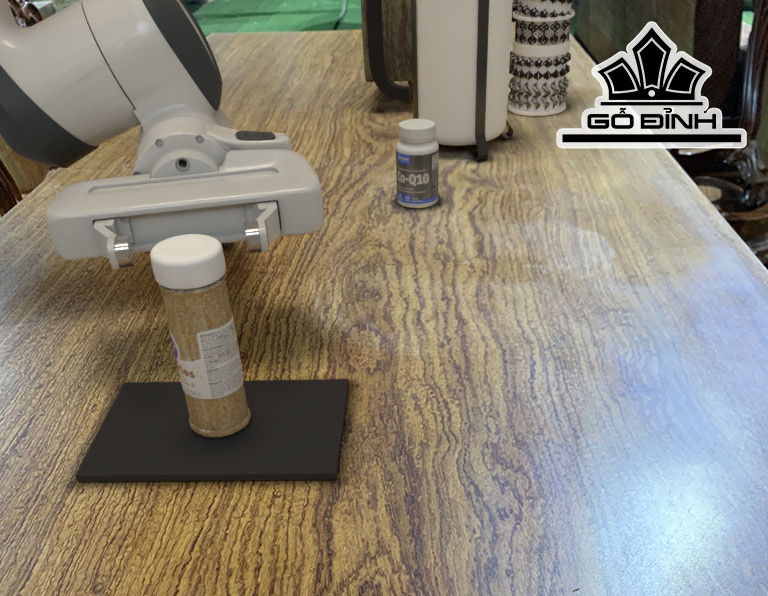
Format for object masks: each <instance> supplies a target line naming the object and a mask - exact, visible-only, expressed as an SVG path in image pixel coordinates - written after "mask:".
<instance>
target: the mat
mask: <svg viewBox="0 0 768 596" xmlns="http://www.w3.org/2000/svg"><path fill="white" fill-rule="evenodd" d="M243 384H244V389H245V395H246V401H247V406H248V408H249V409H250V413H251V418H250V421H249V423H248V425H246V426H245V427H244V428H243V429H242V430H240V431H238V432H236V433H234V434H231V435H228V436H224V437H217V438H214V437H205V436H202V435H199V434H197V433H196V432H194V430H193V429H191V426H190V424H189V416H190V415H189V411H188V407H187V403H186V398H185V393H184V390H183V388H182V384H181V381H144V382H143V381H142V382H141V381H139V382H138V381H137V382H131V381H130V382H123V384H122V385H121V387H120V389H119V391H118V393H117V395H116V397H115V399H114V401H113V402H112V404H111V406H110V409H109V410H108V412H107V414H106V416H105V418H104V420H103V422H102V423H101V425H100V427H99V429H98V431H97V433H96V436H95V437H94V439H93V440H92V443H91V445H90V446H89V448H88V450H87V452H86V454H85V455H84V458H83V460H82V462H81V464H80V465H79V467H78V469H77V471H76V473H75V479H76V481H77V482H78V483H93V482H95V483H96V482H97V483H98V482H100V483H101V482H102V483H103V482H107V483H108V482H113V483H114V482H214V481H215V482H216V481H217V482H218V481H221V482H223V481H225V482H226V481H227V482H228V481H231V482H232V481H233V482H234V481H331V480H332V481H333V480H337V478H338V471H339V464H340V457H341V450H342V442H343V435H344V426H345V420H346V413H347V405H348V397H349V389H350V380H349V378H334V379H329V378H327V379H324V378H323V379H267V380H265V379H262V380H244V382H243Z"/></svg>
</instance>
